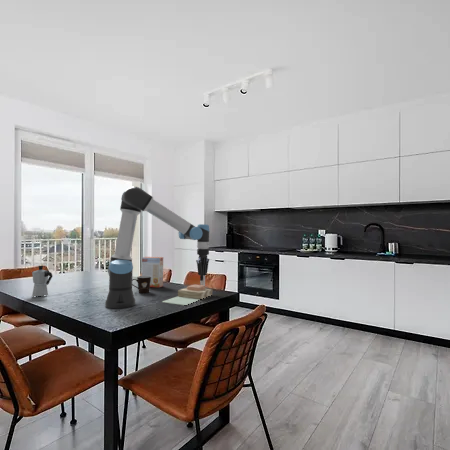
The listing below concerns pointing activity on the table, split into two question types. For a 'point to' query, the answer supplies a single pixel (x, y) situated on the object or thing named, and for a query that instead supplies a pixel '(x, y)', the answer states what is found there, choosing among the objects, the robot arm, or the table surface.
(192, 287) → the coaster
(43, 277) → the coffee maker
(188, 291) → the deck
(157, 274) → the cracker box
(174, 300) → the mat
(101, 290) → the table surface
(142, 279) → the coffee mug
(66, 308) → the table surface
